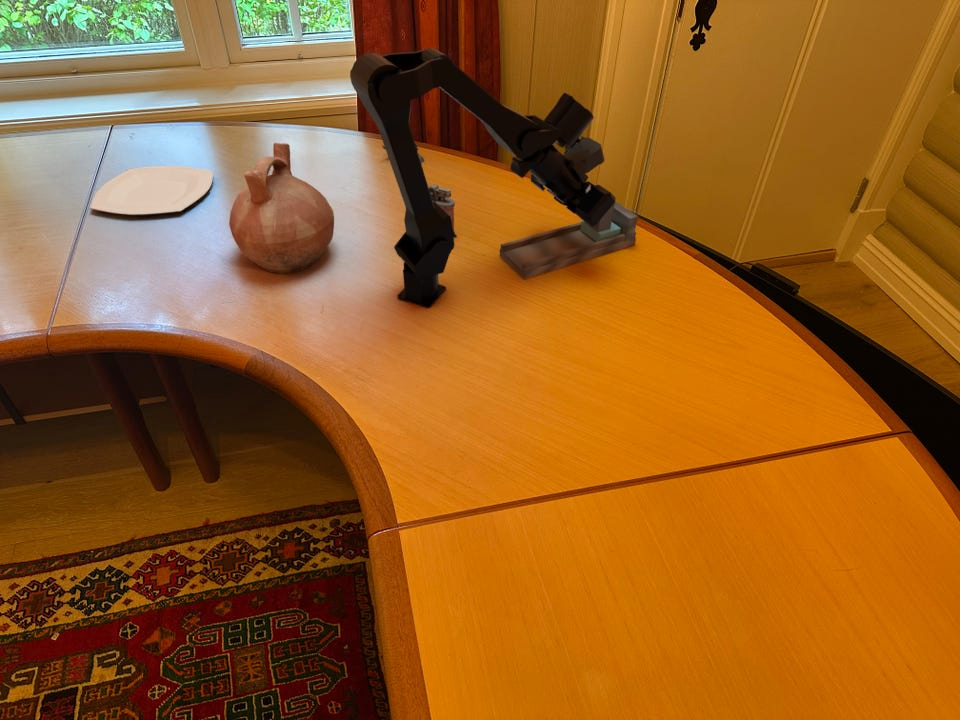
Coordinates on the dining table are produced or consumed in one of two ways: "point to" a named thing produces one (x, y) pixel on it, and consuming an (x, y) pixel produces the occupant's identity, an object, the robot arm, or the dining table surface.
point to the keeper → (602, 227)
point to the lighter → (443, 200)
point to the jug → (280, 216)
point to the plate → (153, 190)
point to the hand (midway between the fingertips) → (592, 211)
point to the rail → (566, 246)
